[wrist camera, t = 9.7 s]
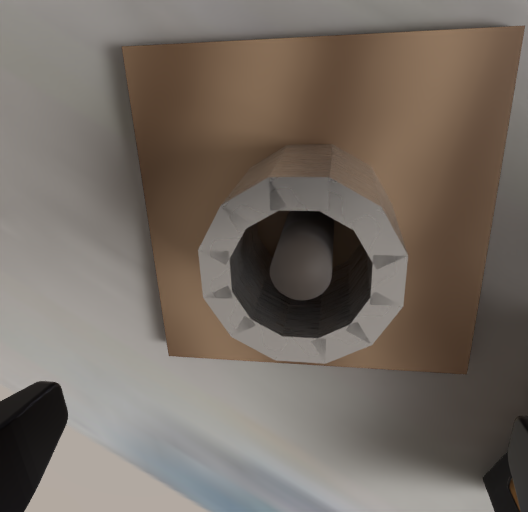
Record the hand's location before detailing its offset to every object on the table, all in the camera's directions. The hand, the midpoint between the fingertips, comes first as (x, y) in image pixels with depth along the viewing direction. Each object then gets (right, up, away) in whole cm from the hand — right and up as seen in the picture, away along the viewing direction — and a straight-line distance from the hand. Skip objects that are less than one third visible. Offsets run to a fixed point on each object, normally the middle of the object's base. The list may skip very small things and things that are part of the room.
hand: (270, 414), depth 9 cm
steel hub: (+2, +4, +10) cm, 11 cm away
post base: (+2, +5, +11) cm, 12 cm away
